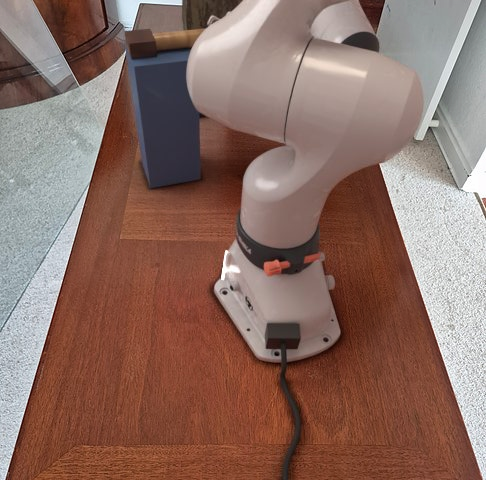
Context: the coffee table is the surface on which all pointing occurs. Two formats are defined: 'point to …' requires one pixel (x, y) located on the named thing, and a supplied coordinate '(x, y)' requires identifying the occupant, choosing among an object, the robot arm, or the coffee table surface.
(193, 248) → the coffee table surface
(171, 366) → the coffee table surface
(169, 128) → the pedestal
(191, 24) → the tabletop clock
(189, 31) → the wooden mallet
